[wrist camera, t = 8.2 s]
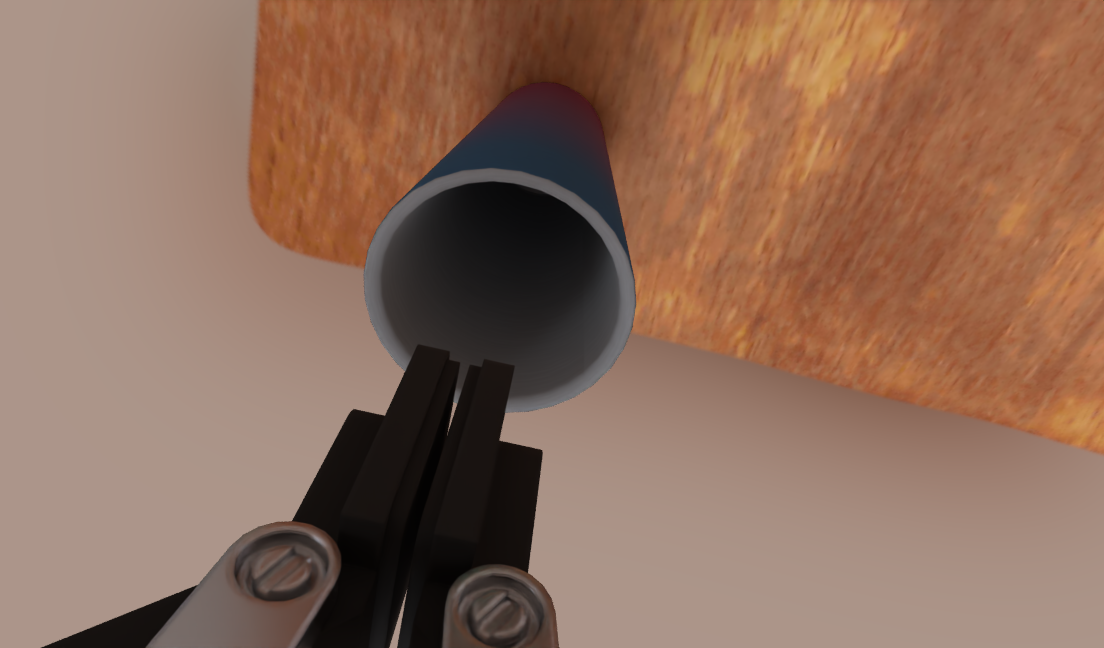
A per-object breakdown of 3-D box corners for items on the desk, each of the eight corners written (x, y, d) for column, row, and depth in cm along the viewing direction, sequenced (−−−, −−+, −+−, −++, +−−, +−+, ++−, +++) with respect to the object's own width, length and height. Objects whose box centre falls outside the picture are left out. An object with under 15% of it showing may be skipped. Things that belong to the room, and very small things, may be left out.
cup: (435, 141, 31) (309, 298, 18) (543, 21, 28) (487, 104, 15) (547, 245, 33) (507, 454, 20) (658, 143, 30) (694, 306, 17)
